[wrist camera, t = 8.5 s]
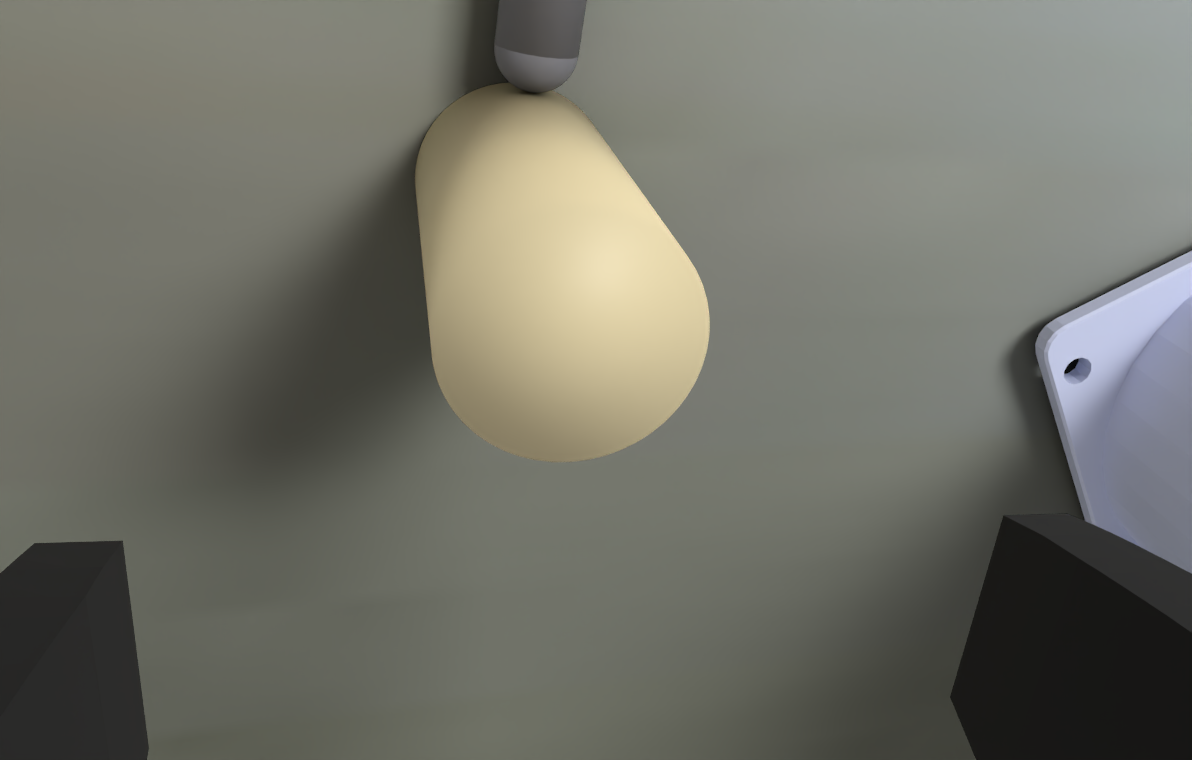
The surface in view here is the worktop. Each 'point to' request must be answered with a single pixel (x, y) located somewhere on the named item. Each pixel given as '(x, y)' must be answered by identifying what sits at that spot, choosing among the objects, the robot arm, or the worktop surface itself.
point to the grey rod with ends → (549, 262)
